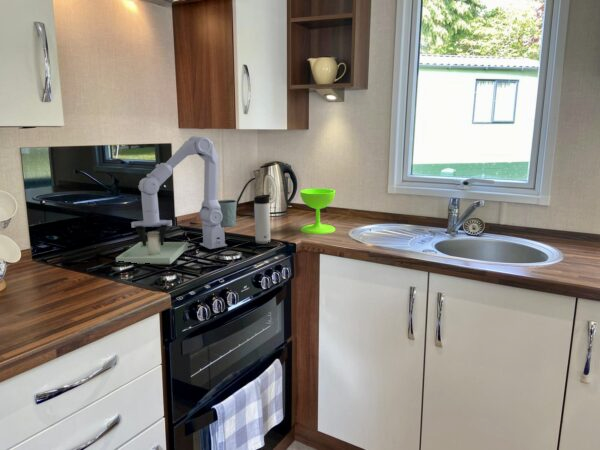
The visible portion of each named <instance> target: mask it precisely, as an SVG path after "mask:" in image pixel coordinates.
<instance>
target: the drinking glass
mask: <svg viewBox="0 0 600 450" xmlns="http://www.w3.org/2000/svg"><path fill="white" fill-rule="evenodd" d="M217 200H218V203H219V205H220V207H221V208H220V209H221V213H222V216H223V217H222V220H221V222H220V226H221V227H230V228H234V227H236V224H237V222H236V221H237V219H236V218H237V205H238V204H237V203H238V202H237V200H235V199H217Z"/></svg>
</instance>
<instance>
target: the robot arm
mask: <svg viewBox="0 0 600 450" xmlns="http://www.w3.org/2000/svg"><path fill="white" fill-rule="evenodd" d="M193 155H198V157H200V158H201V159H202V160H203V161H204V170H203V171H204V172H203V173H204V177H203V180H204V182H203V201H202V202H201V208H200V210H199V213H198V215H199V219H200V220H201V221H202V223H201V227H202V242H200V243H199V245H200V246H202V247H205V248H206V249H209V250H212V249H218V248H223V247H227V246H228V244H227V243H226V239H225V238H226V237H225V236H226V235H225V230H224V229H225V228H222V227H221V226H220V222H221V220H222V217H223V216H222V213H221V209H220V208H221V207H220V205H219V203H218V200H219V199H218V190H219V188H218V187H219V154H218V152H217V150H216V149H215V147H214V142H213V141H212V140H211V139H209V137H207V136H196V135H193V136H190V137H189V138H188V140H186V141H184V143H183V144H182V145H181V146H180V147H179V148H178V149H177V150H176V151H175V152H174V154H172V156H171V157H170V158H169V159H168V160H167V161H166V162H160V164H159V163H156V165H155V168H154V169H153V170H152V171H151V172H150V173H147V174H146V177H144V178H142V179H141V180H139V183H138V184H139V185H137V187H138V188H137V189H138V190H139V191H140V193H141V206H142V207H141V208H142V219H143V220H137V221H132V222H130V224H131V228H133V229H134V228H135V231H136V233H137V234H138V236H139V238H140V239H141V242H142V243H143V246H146V242H147V239H146V227H148V228H149V227H151V228H152V227H159V228H158V229H159V232H160V242H161V245H163V244H164V242H165V236H166V232H167V230H168V227H172V226H173V221H172V219H169V220H168V219H160V211H159V210H160V209H159V198H158V192H159V190H160V187H161V186H162V185H163V184H164V183H165V182H166V181H167V179H169V177H171V176H172V175H173V169H174V168H176V167H177V166H178V165H179V164H180V163H181V162H182V161H183V160H185V158H187V157H189V156H193Z"/></svg>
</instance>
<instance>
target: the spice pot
mask: <svg viewBox="0 0 600 450" xmlns="http://www.w3.org/2000/svg"><path fill="white" fill-rule="evenodd" d="M146 236H147V242H148V254H149V255H158V254H160V242H161V237H160V231H153V230H152V231H148V232H147V233H146Z"/></svg>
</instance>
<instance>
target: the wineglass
mask: <svg viewBox="0 0 600 450" xmlns="http://www.w3.org/2000/svg"><path fill="white" fill-rule="evenodd" d="M299 193H300V197H301V200H302V202H303V203H304V204H305V205H306V206H308V207H309V208H312V209H314V210H315V223H313V224H307V225H304V226H302V227H300V232H302V233H304V234H309V235H326V234H331V233H334V232H336V227H334V226H333V225H329V224H323V223H321V210H322V209H325V208H327V207H328V206H329V205H330V204H332V202H333V201H334V199H335V196H336V190H335V189H332V188H331V189H330V188H306V189H302V190H300V191H299Z"/></svg>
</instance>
